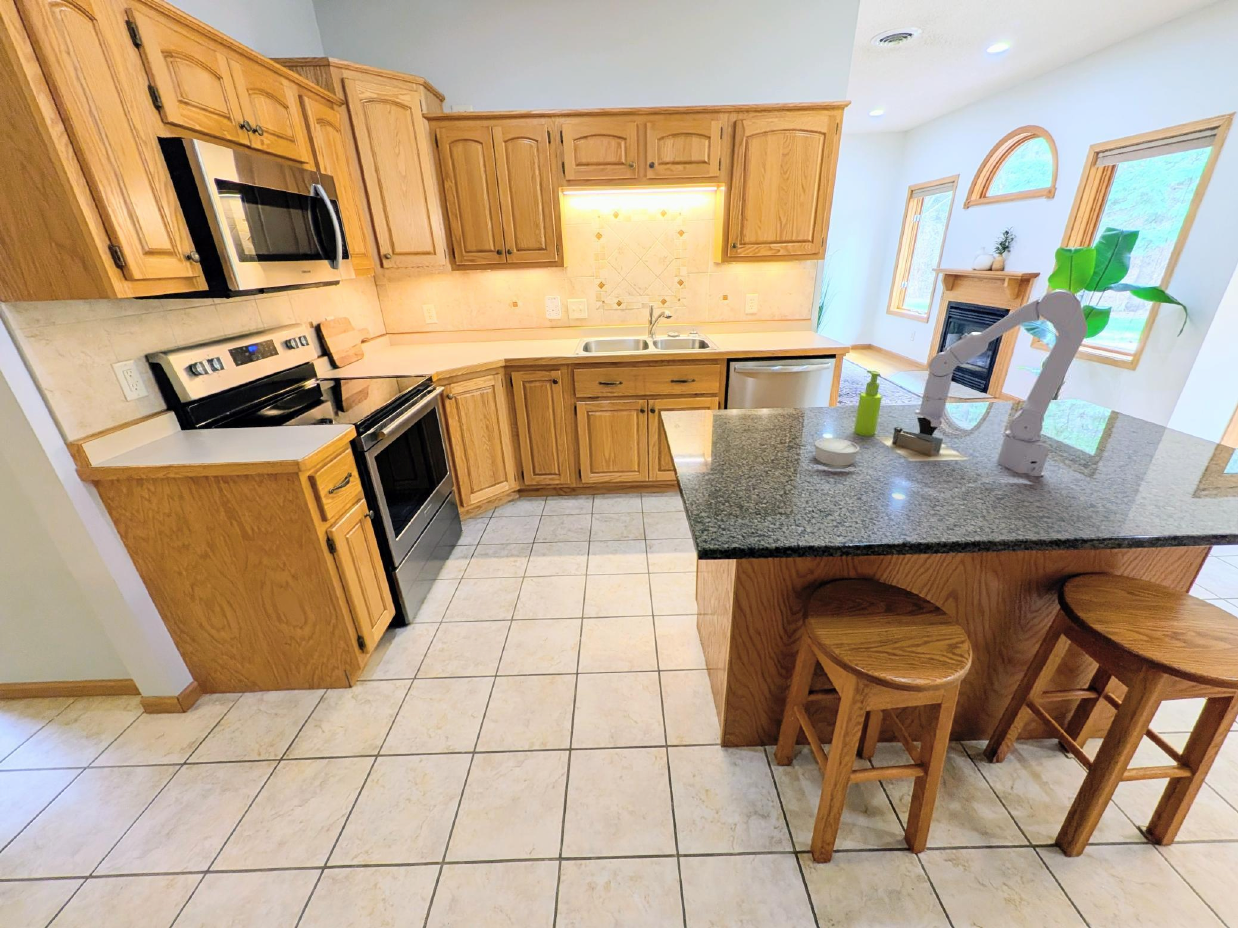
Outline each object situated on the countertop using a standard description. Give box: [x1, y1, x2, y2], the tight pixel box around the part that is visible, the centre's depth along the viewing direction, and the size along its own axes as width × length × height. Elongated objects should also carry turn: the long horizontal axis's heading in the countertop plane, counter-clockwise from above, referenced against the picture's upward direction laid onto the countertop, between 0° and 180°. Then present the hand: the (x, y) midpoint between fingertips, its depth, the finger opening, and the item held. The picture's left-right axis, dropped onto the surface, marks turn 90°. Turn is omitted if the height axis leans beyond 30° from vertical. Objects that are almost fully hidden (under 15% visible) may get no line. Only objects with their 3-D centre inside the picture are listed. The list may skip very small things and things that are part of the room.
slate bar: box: [902, 429, 944, 452], centre depth 140 cm, size 10×1×4 cm, turn 44°
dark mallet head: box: [892, 426, 935, 457], centre depth 140 cm, size 12×2×5 cm, turn 27°
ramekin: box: [813, 437, 860, 470], centre depth 135 cm, size 11×11×5 cm
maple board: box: [874, 436, 970, 462], centre depth 142 cm, size 19×16×1 cm
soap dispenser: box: [853, 370, 883, 436], centre depth 151 cm, size 6×7×20 cm
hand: (923, 443), depth 141 cm, fingers closed, pressing on slate bar
